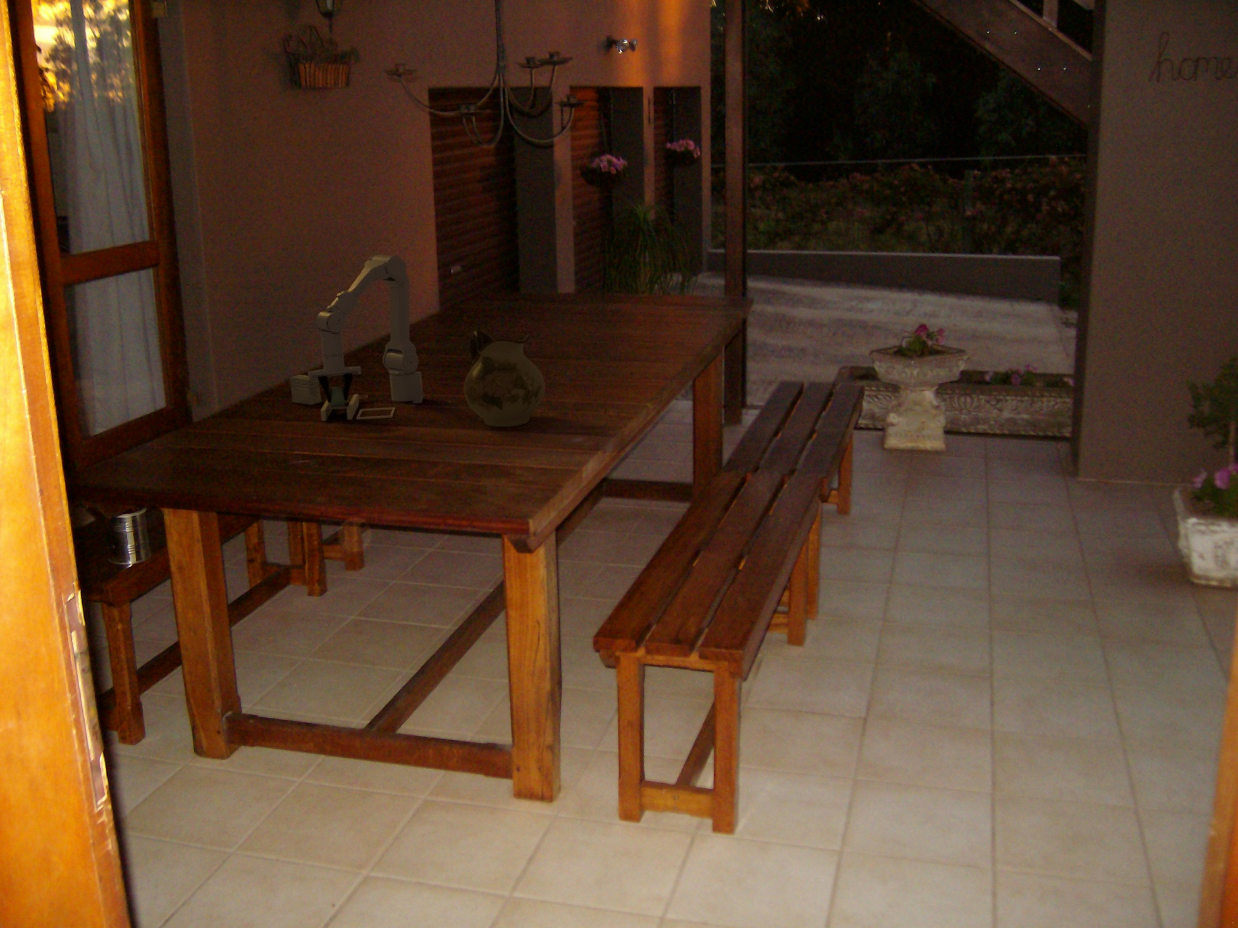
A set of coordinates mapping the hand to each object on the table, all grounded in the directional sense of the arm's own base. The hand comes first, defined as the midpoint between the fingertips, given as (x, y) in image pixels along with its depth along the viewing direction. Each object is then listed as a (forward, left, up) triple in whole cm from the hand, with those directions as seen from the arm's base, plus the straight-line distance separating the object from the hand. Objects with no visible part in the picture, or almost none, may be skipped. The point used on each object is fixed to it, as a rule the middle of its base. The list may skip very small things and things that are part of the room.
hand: (337, 401), depth 351 cm
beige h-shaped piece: (0, -4, -5) cm, 7 cm away
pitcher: (-47, +13, -5) cm, 49 cm away
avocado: (0, +1, -2) cm, 2 cm away
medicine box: (+12, -19, -6) cm, 23 cm away
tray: (-11, +1, -5) cm, 12 cm away
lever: (-2, -6, -4) cm, 7 cm away
